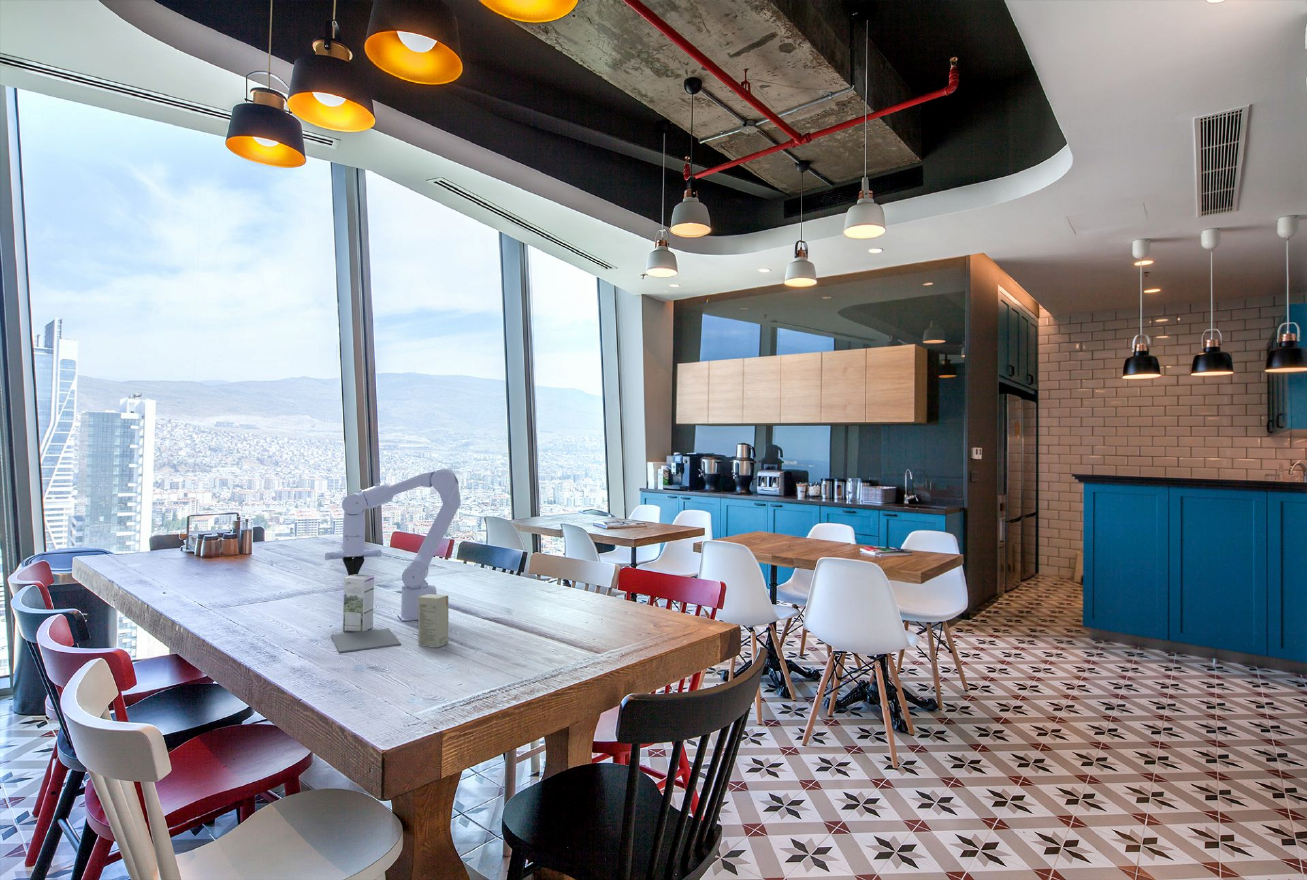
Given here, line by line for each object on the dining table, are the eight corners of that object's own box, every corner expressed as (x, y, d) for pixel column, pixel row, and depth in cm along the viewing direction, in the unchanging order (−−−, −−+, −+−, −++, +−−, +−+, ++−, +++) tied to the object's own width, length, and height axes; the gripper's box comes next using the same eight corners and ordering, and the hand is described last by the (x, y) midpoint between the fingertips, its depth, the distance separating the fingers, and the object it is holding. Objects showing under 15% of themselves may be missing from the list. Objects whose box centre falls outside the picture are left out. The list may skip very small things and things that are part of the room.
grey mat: (388, 629, 178) (388, 628, 178) (400, 645, 164) (400, 643, 164) (331, 636, 170) (331, 635, 170) (339, 653, 157) (339, 651, 157)
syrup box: (373, 627, 180) (375, 574, 180) (362, 633, 174) (363, 578, 174) (353, 626, 181) (355, 573, 181) (341, 632, 175) (343, 577, 175)
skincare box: (449, 643, 166) (450, 595, 166) (438, 648, 162) (439, 598, 162) (427, 641, 168) (429, 592, 168) (416, 645, 164) (417, 596, 164)
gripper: (378, 532, 195) (377, 578, 195) (324, 535, 188) (322, 583, 187) (383, 535, 189) (381, 583, 189) (326, 538, 182) (325, 587, 182)
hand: (352, 583), depth 188 cm, fingers closed
